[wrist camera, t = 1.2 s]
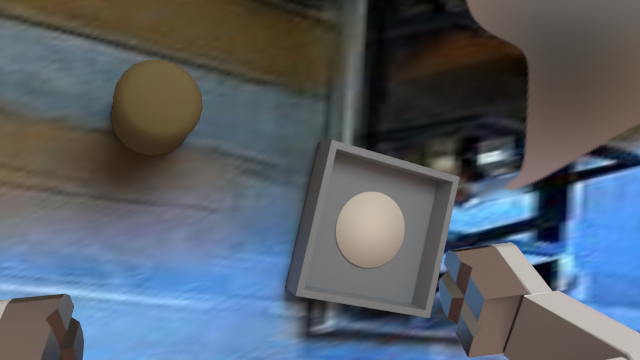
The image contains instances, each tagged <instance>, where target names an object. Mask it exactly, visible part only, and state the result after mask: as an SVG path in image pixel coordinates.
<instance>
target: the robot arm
mask: <svg viewBox="0 0 640 360" xmlns="http://www.w3.org/2000/svg"><path fill="white" fill-rule="evenodd" d="M444 264H445V266H446V268H447V269H448V271H447V272H446V273H445V274H444V275H443V276H442V277H441V281H440V287H439V291H440V301H441V304H442V307H443V310H444V312H445V314H446V316H447V318H448V319H450V320H451V321H453V322H454V323H456V324H457V329H456V333H455V334H456V335H457V337H458V339H459V341H460V343H461V345H462V347H463V349H464V351H465V353H466V355H467V356H468V357H476V356H485V355H493V354H501V353H504V356H506V357H507V358H508V359H509V360H640V333H638V332H636V331H634V330H632V329H630V328H628V327H626V326H624V325H623V324H621V323H619V322H617V321H615V320H613V319H611V318H609V317H607V316H605V315H603V314H602V313H600V312H598V311H596V310H594V309H592V308H590V307H588V306H586V305H584V304H583V303H581V302H579V301H577V300H575V299H573V298H571V297H569V296H567V295H565V294H564V293H562V292H560V291H553V292H552V290H551V289H550V288H549V287H548V285H547V284H546V283H545V281H544V280H543V279H542V278H541V276H540V275H539V274H538V273H537V271H536V270H535V269H534V268H533V266H532V265H531V264H530V263H529V261H528V260H527V259H526V258H525V256H524V255H523V254H522V253H521V251H520V250H519V249H518V247H517V246H516V245H514V244H513V243H503V244H495V245H490V246H480V247H472V248H464V249H456V250H449V251H448V253H447V254H446V257H445V262H444ZM73 309H74V305H73V303H72V300H71V298H70V296H69V295H67V294H58V295H47V296H36V297H25V298H14V299H10V300H0V360H82V359H83V349H84V339H83V332H82V328H81V325H80V322H79V321H77V320H75V319H74V318H72V317H71V316H72V312H73Z"/></svg>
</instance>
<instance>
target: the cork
mask: <svg viewBox="0 0 640 360" xmlns="http://www.w3.org/2000/svg"><path fill="white" fill-rule="evenodd" d="M113 100H114V102H113V107H112V111H111V119H112V126H113V129H114V131H115V133H116V135H117V137H118V138H119V139H120V140H121V142H122V143H123V144H124V145H125V146H126V147H128V148H130V149H131V150H133V151H135V152H137V153H140V154H144V155H149V156H153V155H163V154H166V153H168V152H170V151H173V150H175V149H176V148H177V147H178V146H179V145H181V144H182V143H183V141H184V140H185V138H186V137H187V135H188V134H189V133H190V132H192V131H193V129H194V128H195V126H196V125H197V123H198V121H199V120H200V115H201V111H202V98H201V93H200V90H199V88H198V86H197V83H196V81H195V80H194V79H193V78H192V77H191V76H190V74H189V73H188V72H187V71H186V70H184V69H183V68H181V67H179V66H178V65H176V64H174V63H171V62H167V61H164V60H147V61H144V62H141V63H138V64H135V65H133V66H132V67H131V68H129V69H128V70H127V71H125V72H124V73H123V75H122V76H121V78H120V79H119V81H118V82H117V84H116V88H115V92H114V96H113Z"/></svg>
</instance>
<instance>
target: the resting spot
mask: <svg viewBox="0 0 640 360" xmlns="http://www.w3.org/2000/svg"><path fill="white" fill-rule="evenodd" d="M404 233H405V224H404V218H403V215H402V212H401V210H400V208H399V206H398V205H397V204H396V203H395V201H394V200H393V199H391V198H390V197H389V196H387V195H385V194H383V193H379V192H363V193H360V194H358V195H356V196H354V197H352V198H351V199H350V200H349V201H348V202H347V203H346V204H345V205H344V206H343V208H342V209H341V211H340V213H339V215H338V218H337V221H336V227H335V235H336V241H337V245H338V247H339V249H340V251H341V253H342V254H343V256H344V257H345V258H346V259H347V260H348V261H350V262H351V263H353V264H354V265H357V266H359V267H363V268H374V267H378V266H381V265H383V264H385V263H387V262H388V261H390V260H391V259H392V258H393V257H394V256H395V255H396V253H397V252H398V250H399V249H400V247H401V245H402V242H403V238H404Z"/></svg>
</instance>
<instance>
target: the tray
mask: <svg viewBox="0 0 640 360" xmlns="http://www.w3.org/2000/svg"><path fill="white" fill-rule="evenodd" d="M458 182H459V177H458V176H454V175H451V174H447V173H444V172H440V171H437V170H434V169H430V168H427V167H423V166H420V165H417V164H413V163H410V162H406V161H403V160H399V159H396V158H393V157H389V156H386V155H382V154H379V153H375V152H372V151H369V150H365V149H362V148H358V147H355V146H351V145H348V144H345V143H341V142H338V141H334V140H327V141H320V142H319V144H318V148H317V153H316V157H315V161H314V166H313V170H312V174H311V178H310V183H309V187H308V191H307V196H306V200H305V204H304V208H303V213H302V217H301V221H300V226H299V230H298V234H297V239H296V243H295V247H294V251H293V256H292V260H291V264H290V269H289V273H288V277H287V281H286V286H285V288H286V289H287V290H289V291H290V292H291V293H293V294H294V295H295V296H300V297H306V298H312V299H318V300H324V301H330V302H336V303H342V304H348V305H355V306H361V307H367V308H373V309H379V310H385V311H391V312H397V313H403V314H409V315H415V316H421V317H427V318H430V313H431V309H432V304H433V299H434V295H435V290H436V285H437V281H438V276H439V271H440V266H441V262H442V257H443V252H444V248H445V243H446V238H447V234H448V229H449V224H450V219H451V215H452V210H453V205H454V201H455V196H456V191H457V187H458ZM363 192H379V193H383V194H385V195H387V196H389V197H390V198H391V199H393V200H394V201H395V203H396V204H397V205H398V206H399V208H400V210H401V212H402V215H403V218H404V224H405V233H404V238H403V242H402V245H401V247H400V249H399V250H398V252H397V253H396V255H395V256H394V257H393V258H392V259H391V260H390V261H388V262H387V263H385V264H383V265H381V266H378V267H374V268H363V267H359V266H357V265H354V264H353V263H351V262H350V261H348V260H347V259H346V258H345V257H344V256H343V254H342V253H341V251H340V249H339V247H338V245H337V241H336V235H335V227H336V221H337V218H338V215H339V213H340V211H341V209H342V208H343V206H344V205H345V204H346V203H347V202H348V201H349V200H350V199H351V198H352V197H354V196H356V195H358V194H360V193H363Z"/></svg>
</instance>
